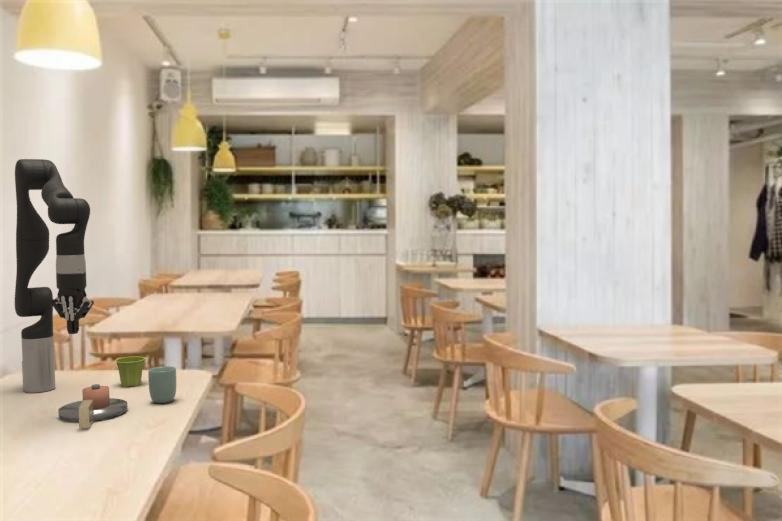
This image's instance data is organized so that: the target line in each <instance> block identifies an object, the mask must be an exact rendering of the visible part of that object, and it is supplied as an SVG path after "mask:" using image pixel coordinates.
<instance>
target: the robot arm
mask: <svg viewBox="0 0 782 521" xmlns="http://www.w3.org/2000/svg"><path fill="white" fill-rule="evenodd" d="M14 166H15V167H14V181H15V182H14V184H15V186H14V187H15V198H16V226H15V227H16V228H15V229H16V232H15V254H16V257H15V258H16V275H15V276H16V277H15V289H14V311H15V313H16V315H17V316H18V317H20V318H28V317H40V318H39V320H38V321H37V322H34V323H33V324H32V325H31V324H30V325H29V326H26V327H24V328H22V329H21V334H20V336H21V357H22V361H21V367H22V368H21V370H22V371H21V373H22V390H23V392H25V393H29V394H30V393H33V394H34V393H44V392H49V391H52V390H55V389H56V370H55V369H56V368H55V367H56V366H55V348H54V347H55V346H54V345H55V344H54V342H55V341H54V317H53V316H54V310H55V312H56V313H57V314H58V316H59V317H60V318H61V319H62V318H63V319H65V321H66V331H67V333H68V335H76V334H78V333H79V331H80V320H81V319H82V318H85V317H86V316H87V315H88V313H89V311H90V310H91V309H92V307H93V305H94V303H95V302H94V299H93V300H90V299H89V298H88V297H87V292H86V288H87V266H86V264H87V263H86V262H87V261H86V256H85V235H86V231H87V227H88V222H89V219H90V215H91V207H90V203H89V202H88V201H87V200H86V199H84V198H81V197H79V198H77V197H76V198H75V197H74V196H73V194H72V193H71V191H70V190H68V188H67V187H66V186H65V184H64V182H63V178H62V177H61V174H60V172H59V170H58V168H57V166H56V165H55V163H54V162H53V161H51V160H49V159H42V158H41V159H39V158H30V159H29V158H24V159H23V158H21V159H17V161H16V163H15V165H14ZM30 191H41V192H40V193H41V194H40V196H41V199H42V200H43V202H44V203H45V204H46V206H47V216H48V219H49V221H50V222H52V223H53V224H57V225H74V226H73V228H72V229H71V230H70V231H67V232H61V233H59V234H57V235H56V236H55V251H56V258H55V259H56V260H55V275H56V276H55V279H56V281H55V283H56V289H57V290H58V291H57V293H56V294H57V296H56V298H54V296H53V291H52V289H51V288H50V287H49V286H36V287H29V283H30V280H31V279H32V276H33V274H34V273H35V271H36V270H37V269H38V268H39V266H40V265H41V264H42V262H44V260H45V259H46V257H47V255H48V253H49V250H50V228H49V227H48V225H47V224H46V222H45V220H43V217H41V215H40V214H39V212H38V211H37V210H36V208H35V207H34V205H33V203H32V201H31V197H30Z"/></svg>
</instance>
